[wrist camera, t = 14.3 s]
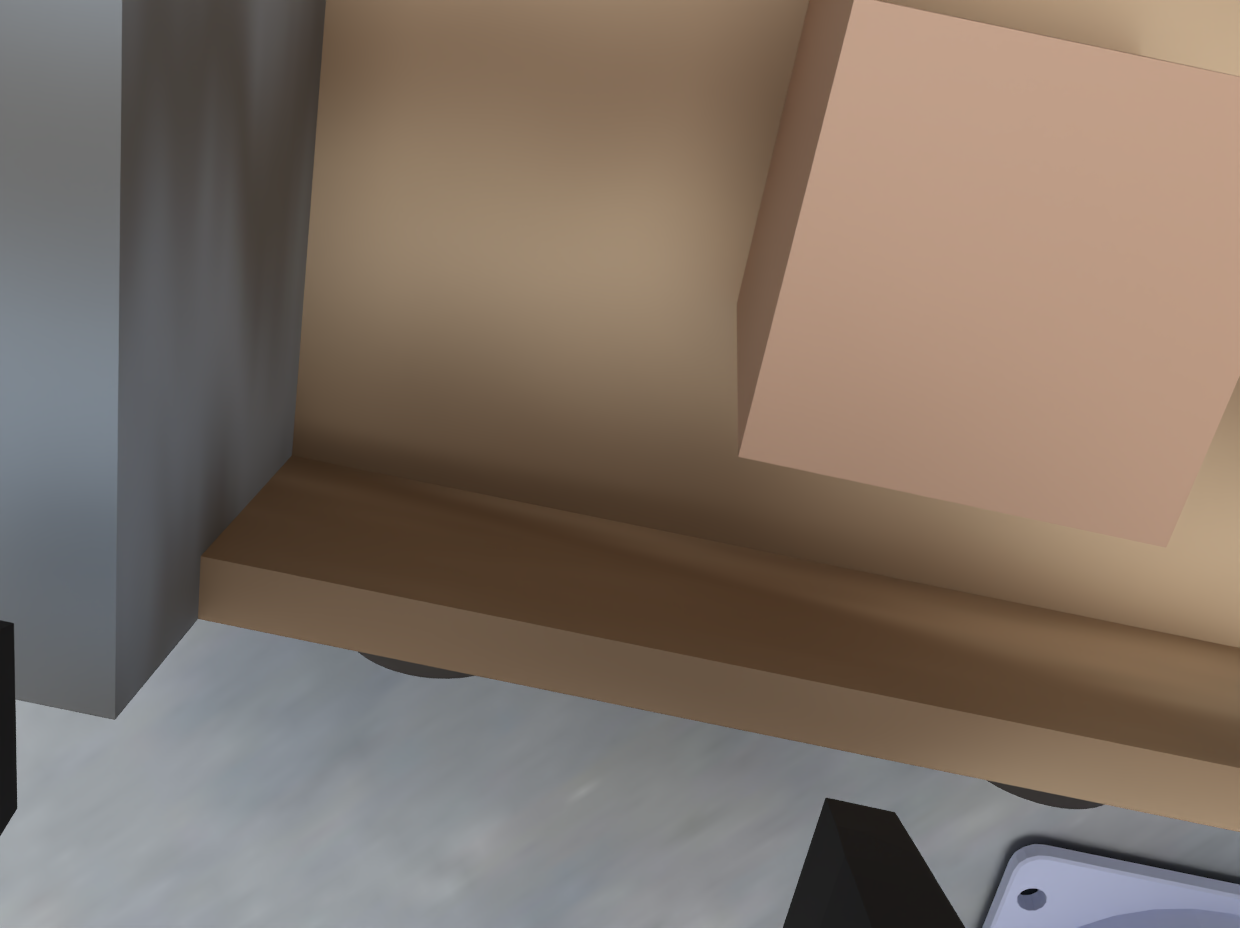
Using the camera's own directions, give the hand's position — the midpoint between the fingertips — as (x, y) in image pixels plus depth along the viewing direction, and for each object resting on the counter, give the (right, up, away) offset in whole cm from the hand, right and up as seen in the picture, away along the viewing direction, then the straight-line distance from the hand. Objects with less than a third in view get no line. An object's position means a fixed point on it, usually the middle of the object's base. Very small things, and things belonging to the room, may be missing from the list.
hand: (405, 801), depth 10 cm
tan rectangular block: (+6, +7, +6) cm, 11 cm away
